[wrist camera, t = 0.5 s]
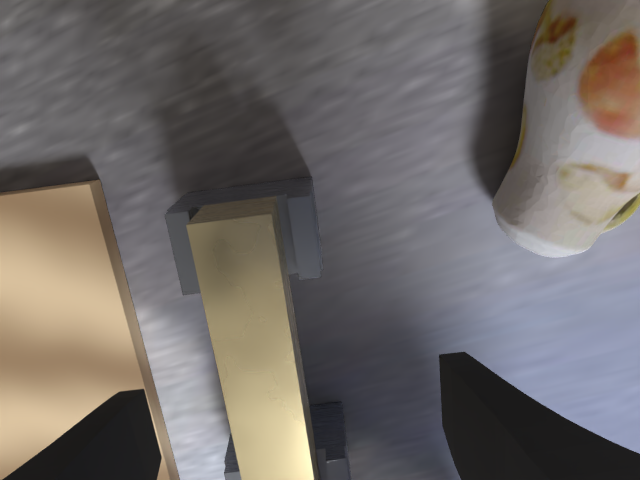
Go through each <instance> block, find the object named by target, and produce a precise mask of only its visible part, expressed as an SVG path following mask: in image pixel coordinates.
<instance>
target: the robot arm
mask: <svg viewBox="0 0 640 480" xmlns="http://www.w3.org/2000/svg"><path fill="white" fill-rule="evenodd" d="M439 362H440V383H441V404H442V425H443V429H444V432H445V436H446V439H447V442H448V445H449V449H450V452H451V455H452V458H453V461H454V464H455V466H456V469H457V471H458V473H459V475H460V478H461V480H640V454H639V453H636V452H634V451H631V450H629V449H627V448H624V447H622V446H620V445H618V444H615V443H613V442H611V441H609V440H607V439H605V438H603V437H601V436H599V435H597V434H595V433H593V432H591V431H589V430H587V429H585V428H583V427H581V426H579V425H577V424H575V423H573V422H571V421H569V420H568V419H566V418H564V417H562V416H561V415H559V414H557V413H555V412H554V411H552V410H550V409H549V408H547V407H545V406H544V405H542V404H540V403H539V402H537V401H535V400H534V399H532V398H531V397H529V396H528V395H526V394H524V393H523V392H521V391H520V390H518V389H517V388H515V387H514V386H512V385H511V384H509V383H508V382H507V381H505V380H504V379H502V378H501V377H499V376H498V375H497V374H495V373H494V372H492V371H491V370H490V369H488V368H487V367H485V366H484V365H483V364H481V363H480V362H478V361H477V360H476V359H474V358H473V357H471V356H470V355H468V354H467V353H465V352H458V353H450V354H441V355H439ZM161 460H162V456H161V453H160V449H159V445H158V441H157V437H156V433H155V429H154V425H153V421H152V417H151V414H150V410H149V406H148V402H147V398H146V394H145V390H144V389H137V390H128V391H119V392H118V393H116V394H115V395H113V396H112V397H110V398H109V399H108V400H106V401H105V402H104V403H102V404H101V405H100V406H98V407H97V408H96V409H94V410H93V411H92V412H91V413H89V414H88V415H87V416H86V417H84V418H83V419H82V420H81V421H79V422H78V423H77V424H75V425H74V426H73V427H72V428H70V429H69V430H68V431H67V432H65V433H64V434H63V435H61V436H60V437H59V438H58V439H56V440H55V441H54V442H53V443H51V444H50V445H49V446H47V447H46V448H45V449H43V450H42V451H41V452H39V453H38V454H37V455H35V456H34V457H32V458H31V459H30V460H28V461H27V462H26V463H24V464H23V465H22V466H20V467H19V468H17V469H16V470H15V471H13V472H12V473H11V474H9V475H8V476H7V477H5V478H4V479H2V480H157V477H158V473H159V468H160V464H161Z"/></svg>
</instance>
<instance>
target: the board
mask: <svg viewBox="0 0 640 480" xmlns="http://www.w3.org/2000/svg"><path fill="white" fill-rule="evenodd" d="M137 389H144V390H145V394H146V398H147V402H148V406H149V410H150V414H151V417H152V421H153V425H154V429H155V433H156V437H157V441H158V445H159V449H160V453H161V456H162V460H161V464H160V468H159V473H158V477H157V480H180V479H179V475H178V472H177V468H176V464H175V460H174V457H173V453H172V449H171V445H170V441H169V438H168V434H167V430H166V426H165V423H164V419H163V415H162V411H161V408H160V404H159V400H158V396H157V393H156V389H155V385H154V381H153V378H152V374H151V370H150V366H149V363H148V359H147V355H146V351H145V348H144V344H143V340H142V336H141V333H140V329H139V325H138V321H137V318H136V314H135V310H134V306H133V302H132V299H131V295H130V291H129V287H128V284H127V280H126V276H125V272H124V269H123V265H122V261H121V257H120V254H119V250H118V246H117V242H116V239H115V235H114V231H113V227H112V224H111V220H110V216H109V212H108V209H107V205H106V201H105V197H104V194H103V190H102V186H101V182H100V180H93V181H86V182H78V183H70V184H63V185H55V186H47V187H40V188H32V189H24V190H17V191H9V192H1V193H0V480H2V479H4V478H5V477H7V476H8V475H9V474H11V473H12V472H13V471H15V470H16V469H17V468H19V467H20V466H22V465H23V464H24V463H26V462H27V461H28V460H30V459H31V458H32V457H34V456H35V455H37V454H38V453H39V452H41V451H42V450H43V449H45V448H46V447H47V446H49V445H50V444H51V443H53V442H54V441H55V440H56V439H58V438H59V437H60V436H61V435H63V434H64V433H65V432H67V431H68V430H69V429H70V428H72V427H73V426H74V425H75V424H77V423H78V422H79V421H81V420H82V419H83V418H84V417H86V416H87V415H88V414H89V413H91V412H92V411H93V410H94V409H96V408H97V407H98V406H100V405H101V404H102V403H104V402H105V401H106V400H108V399H109V398H110V397H112V396H113V395H115V394H116V393H118V392H119V391H128V390H137Z"/></svg>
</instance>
